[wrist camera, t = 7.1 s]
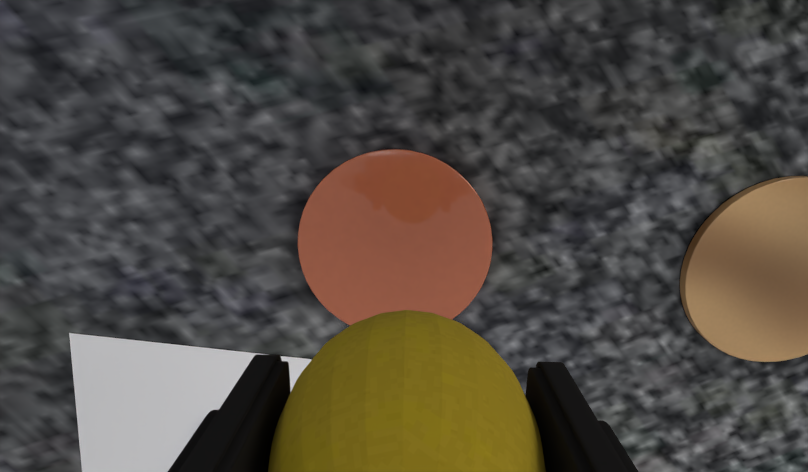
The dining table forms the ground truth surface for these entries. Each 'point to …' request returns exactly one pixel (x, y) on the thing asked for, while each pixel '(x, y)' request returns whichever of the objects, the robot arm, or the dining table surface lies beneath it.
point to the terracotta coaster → (394, 237)
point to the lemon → (407, 403)
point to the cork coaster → (752, 273)
